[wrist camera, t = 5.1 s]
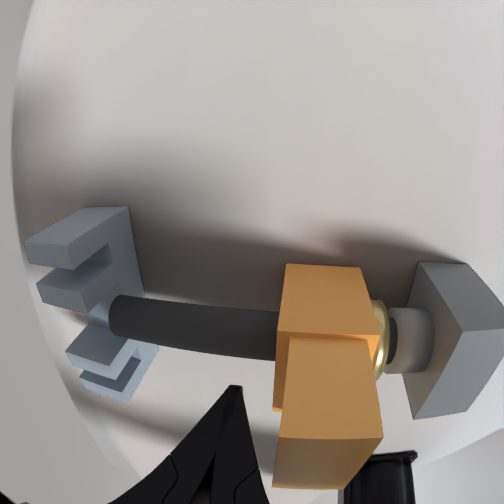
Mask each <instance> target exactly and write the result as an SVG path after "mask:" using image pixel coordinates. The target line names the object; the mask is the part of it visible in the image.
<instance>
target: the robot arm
mask: <svg viewBox="0 0 504 504" xmlns="http://www.w3.org/2000/svg"><path fill="white" fill-rule="evenodd" d="M417 457H418V454H417V452H412V453H405V454H397V455H389V456H378V457H369V458H368V460H367V461H366V462H365V464H364V465H363V466H362V467H361V469H360V470H359V471H358V472H357V474H356V475H355V476H354V477H353V478H352V480H351V481H350V482H349V483H348V484H347V486H346V487H345V488H344V489H338V504H415V494H414V483H413V474H412V467H411V463H412V462H413V461H414V460H415V459H416V458H417ZM0 504H16V503H15V502H14V501H12V500H11V499H10V498H9V497H7V496H6V495H5V494H3V493H2V492H1V491H0ZM21 504H29V503H27V502H24V503H21ZM108 504H270V503H269V501H268V498H267V495H266V493H265V490H264V486H263V483H262V479H261V475H260V471H259V467H258V463H257V458H256V454H255V449H254V445H253V440H252V436H251V431H250V427H249V422H248V417H247V413H246V408H245V403H244V397H243V387H242V386H239V385H229V386H228V388H227V389H226V390H225V392H224V393H223V394H222V395H221V396H220V398H219V399H218V400H217V401H216V402H215V403H214V405H213V406H212V407H211V408H210V409H209V411H208V412H207V413H206V414H205V415H204V416H203V417H202V419H201V420H200V421H199V422H198V423H197V424H196V425H195V427H194V428H193V429H192V430H191V431H190V432H189V433H188V434H187V436H186V437H185V438H184V439H183V440H182V441H181V442H180V443H179V444H178V445H177V447H176V448H175V449H174V450H173V451H172V452H171V453H170V455H168V456H167V457H166V458H165V459H164V460H163V461H162V462H161V463H160V464H159V465H158V466H157V467H156V468H155V469H154V470H153V471H152V472H151V473H150V474H149V475H147V476H146V477H145V478H144V479H142V480H141V481H140V482H139V483H137V484H136V485H135V486H133V487H132V488H131V489H129V490H128V491H126V492H125V493H124V494H122V495H121V496H120V497H118V498H117V499H115V500H114V501H112V502H110V503H108Z"/></svg>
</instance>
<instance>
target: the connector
mask: <svg viewBox="0 0 504 504" xmlns="http://www.w3.org/2000/svg"><path fill="white" fill-rule="evenodd" d="M387 312H388V317H393V318H394V319H395V322H396V325H397V331H398V343H397V350H396V354H395V357H394V359H393V361H392V362H391V363H390V364H388V365H385V367H384V370H383V371H384V372H385V373H386V374H399V373H402V376H403V380H404V384H405V388H406V392H407V396H408V400H409V404H410V409H411V413H412V418H413V420H416V419H424V418H431V417H438V416H444V415H450V414H455V413H460V412H465V411H467V410H468V409H469V407H470V406H471V405H472V403H473V402H474V401H475V399H476V398H477V396H478V395H479V394H480V392H481V391H482V389H483V388H484V386H485V385H486V384H487V382H488V381H489V379H490V377H491V376H492V374H493V373H494V371H495V370H496V368H497V366H498V365H499V363H500V361H501V360H502V358H503V356H504V306H503V304H502V303H501V302H500V301H499V299H498V298H497V297H496V296H495V294H494V293H493V292H492V291H491V290H490V288H489V287H488V286H487V285H486V284H485V283H484V281H483V280H482V279H481V278H480V277H479V276H478V274H477V273H476V272H475V271H474V270H473V269H472V268H471V267H470V266H469V264H452V263H434V262H418V266H417V270H416V274H415V278H414V282H413V285H412V289H411V293H410V296H409V299H408V303H407V306H406V308H393V307H392V308H390V309H389V310H388V311H387Z"/></svg>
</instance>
